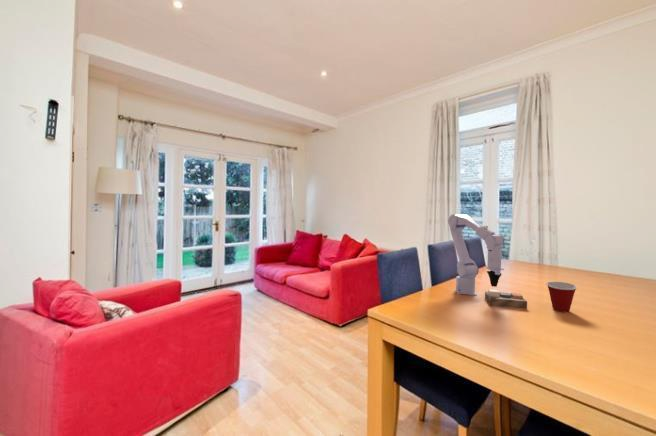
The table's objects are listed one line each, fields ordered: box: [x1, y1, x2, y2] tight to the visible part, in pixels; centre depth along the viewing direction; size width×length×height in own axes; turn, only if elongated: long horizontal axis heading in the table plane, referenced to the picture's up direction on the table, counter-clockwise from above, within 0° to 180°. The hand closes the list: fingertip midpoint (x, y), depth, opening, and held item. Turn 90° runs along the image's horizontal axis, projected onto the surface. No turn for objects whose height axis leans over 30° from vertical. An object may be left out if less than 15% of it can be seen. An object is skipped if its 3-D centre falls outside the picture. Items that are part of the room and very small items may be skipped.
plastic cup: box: [546, 281, 578, 313], centre depth 125 cm, size 11×11×12 cm
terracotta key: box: [509, 292, 524, 299], centre depth 133 cm, size 4×4×3 cm
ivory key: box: [487, 289, 501, 297], centre depth 136 cm, size 4×4×3 cm
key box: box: [484, 291, 528, 310], centre depth 134 cm, size 15×11×4 cm
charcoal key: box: [499, 291, 511, 298], centre depth 134 cm, size 4×4×3 cm
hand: (493, 286), depth 135 cm, fingers closed
